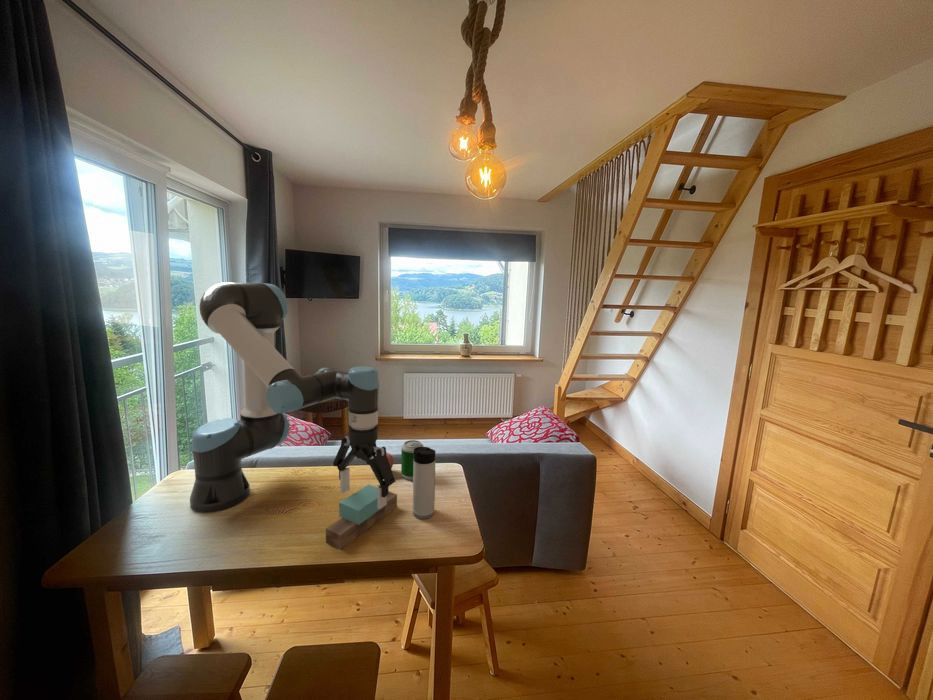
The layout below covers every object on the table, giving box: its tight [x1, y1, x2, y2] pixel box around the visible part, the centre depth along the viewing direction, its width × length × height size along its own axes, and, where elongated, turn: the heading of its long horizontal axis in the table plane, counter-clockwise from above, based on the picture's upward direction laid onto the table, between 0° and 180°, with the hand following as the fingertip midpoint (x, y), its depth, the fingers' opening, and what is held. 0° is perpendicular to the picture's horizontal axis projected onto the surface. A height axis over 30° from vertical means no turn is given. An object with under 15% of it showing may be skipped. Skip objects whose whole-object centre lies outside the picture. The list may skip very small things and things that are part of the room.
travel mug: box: [412, 446, 436, 520], centre depth 108 cm, size 6×7×20 cm
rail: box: [325, 490, 398, 551], centre depth 104 cm, size 5×22×4 cm, turn 151°
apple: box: [371, 452, 395, 469], centre depth 132 cm, size 7×7×8 cm
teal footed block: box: [338, 484, 387, 525], centre depth 103 cm, size 7×11×8 cm, turn 151°
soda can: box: [400, 439, 425, 481], centre depth 130 cm, size 8×8×12 cm
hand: (362, 498), depth 103 cm, fingers open, 13 cm apart
